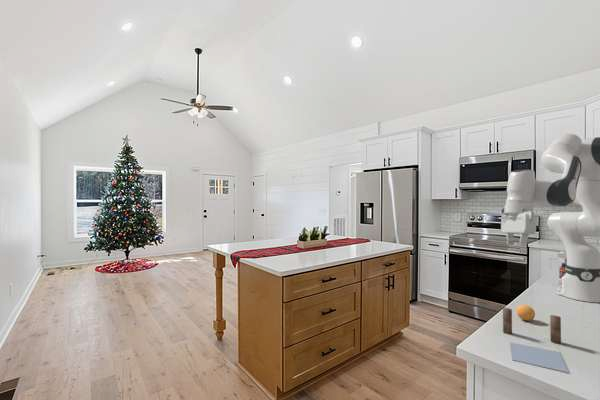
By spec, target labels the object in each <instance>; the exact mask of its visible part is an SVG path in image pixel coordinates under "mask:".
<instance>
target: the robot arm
mask: <svg viewBox="0 0 600 400" xmlns="http://www.w3.org/2000/svg"><path fill="white" fill-rule="evenodd" d="M540 161H541V162H540V163H541V164H542V167H543V168H545V170H547V171H550V172H551V173H557V174H562V175H561V178H558V179H552V180H537V179H536V175H535V174H536V173H535V170H533V169H531V168H530V169H528V168H527V169H516V170H512V171H511V172H510V173H509V175H508V180H507V186H506V193H507V197H506V200H505V205H504V206H503V208H501V210H500V215H501V218H500V220H501V221H500V231H501V233H503V234H505V235H506V236H505V237H506V240H507V241H506V244H507V245H509V246H510V245H511V246H512V245H513V246H514V244H515V241H514V237H515V236H514V235H517V234H518V235H519V236H520V238H519V240H518V244H517V245H518V246H520V247H526V245H527V241H528V239H529V236H530V235H535V234H536V232H537V217H536V216H537V215H536V214H535V213H534V208H535V207H534V206H556V207H566V206H569V205H570V204H572V203H575V204H577V205H579V206H581V208H582V211H560V212H554V213H551V214H550V215H549V216H548V218H547V222H546V224H547V227H548V229H549V230H550V231H551V232H552V233H554V234H555V235H557V237H558V238H559V239H560V240H561V242H562V243H563V246H564V248H565V252H566V258H567V264H566V267H565V272H566V273H565V275H564V276H563V277H562V279H561V278H560V279H559V278H558V284H559V285H558V286H557V287H556V292H555V294H556V295H558V296H562V297H567V298H569V299H573V300H577V301H581V302H589V303H600V251H599V249H598V248H597V247H595V246H594V245H592V244H590V243H588V242H587V241H586V239H585V238H584V237H588V238H589V237H592V238H600V136H599V137H591V138H580V136H579V135H577V134H575V133H563V134H561V135H559V136H558V137H556V138H555V139H554V140H553V141H551V143H550V144H549V145H548V146H547V147H546V148H545V150H544V151H543V153H542V155H541V157H540ZM561 284H562V285H561Z"/></svg>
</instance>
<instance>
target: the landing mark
mask: <svg viewBox="0 0 600 400" xmlns="http://www.w3.org/2000/svg"><path fill="white" fill-rule="evenodd" d="M509 347H510V353H511V360H512V361H514V362H518V363H523V364H527V365H531V366H536V367H540V368H544V369H549V370H552V369H553V370H554V371H556V372H557V371H558V372H561V371H562V373H565V372H566V374H569V373H570V372H569V369H568V367H567V365H566V363H565V361H564V358H563V356H562V354H561V352H560V351H556V350H551V349H546V348H542V347H541V348H540V347H536V346H531V345H526V344H522V343H516V342H512V341H509Z"/></svg>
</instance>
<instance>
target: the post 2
mask: <svg viewBox="0 0 600 400" xmlns="http://www.w3.org/2000/svg"><path fill="white" fill-rule="evenodd" d="M549 317H550V318H549V321H550V322H549V324H550V325H549V327H550V329H549V330H550V333H549V334H550V342H551V343H553V344H558V345H560V344H562V320H561V319H562V318H561V317H560V316H559V315H553V314H551V315H550V316H549Z"/></svg>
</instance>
